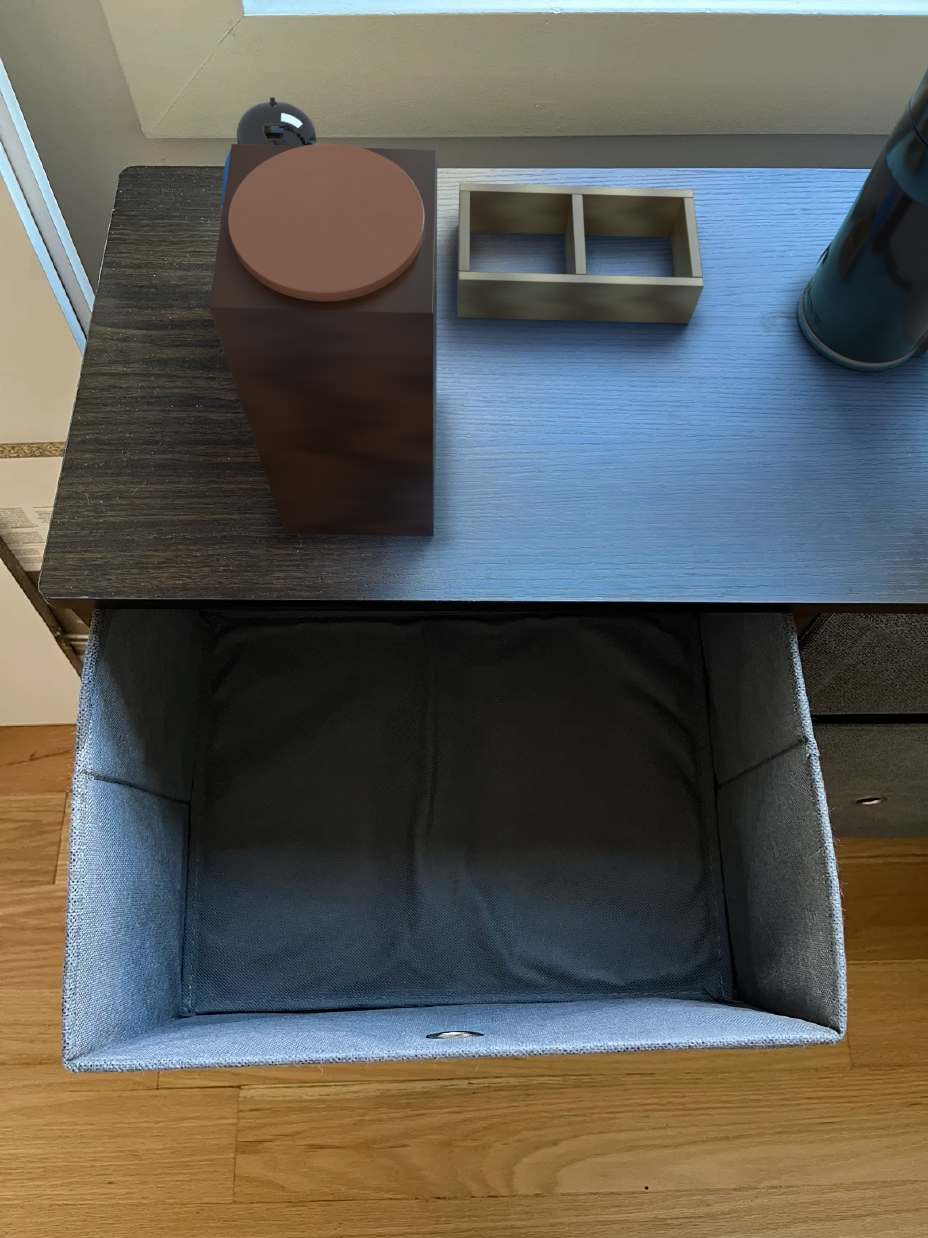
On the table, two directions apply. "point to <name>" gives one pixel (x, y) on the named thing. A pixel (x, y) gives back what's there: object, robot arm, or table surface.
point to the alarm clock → (273, 128)
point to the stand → (338, 379)
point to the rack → (579, 253)
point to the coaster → (326, 222)
